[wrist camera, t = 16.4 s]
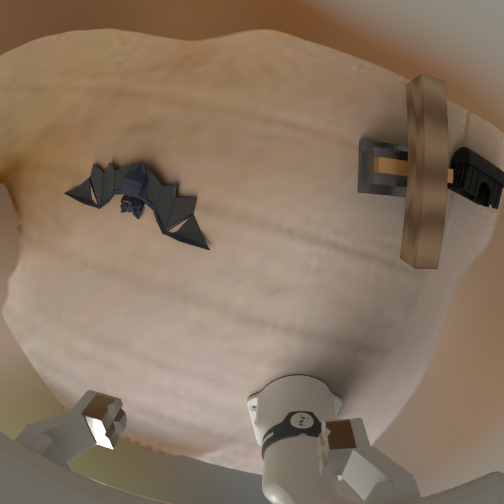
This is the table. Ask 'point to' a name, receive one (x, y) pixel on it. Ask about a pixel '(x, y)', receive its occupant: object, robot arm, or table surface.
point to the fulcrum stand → (384, 168)
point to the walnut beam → (425, 172)
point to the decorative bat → (142, 199)
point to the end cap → (476, 178)
